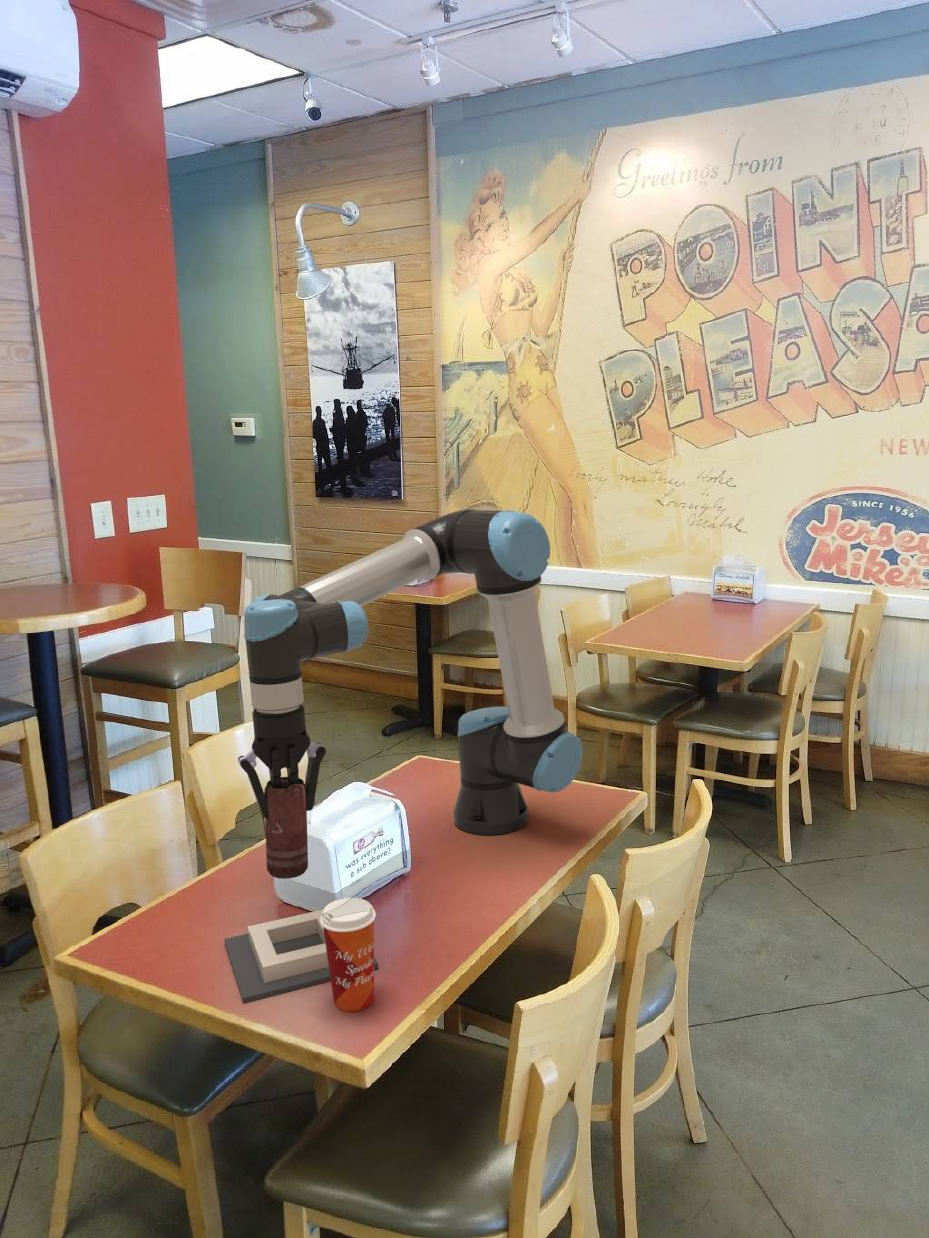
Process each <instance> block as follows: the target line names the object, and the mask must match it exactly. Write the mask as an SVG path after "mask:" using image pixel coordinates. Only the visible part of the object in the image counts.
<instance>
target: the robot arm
mask: <svg viewBox="0 0 929 1238" xmlns="http://www.w3.org/2000/svg"><path fill="white" fill-rule="evenodd" d="M550 557H551V545H550V539H549V535H548V533H547V531H546V529H545V527H544V525H543V524H542V523H541V522H540V521H539V520H538V519H537V518H535V516H533V515H531V514H529V513H526V512H519V511H515V510H509V509H508V510H507V509H506V510H488V509H487V510H486V509H485V510H483V509H480V510H479V509H478V510H476V509H462V510H461V509H460V510H457V511H453V512H450V513H447V514H443V515H442V516H439V517H437V518H434V519H431V520H429V521H427V522H425V523H423V524H420V525H418V526H416V527H414V528H412V529H409V530H408V531H406V532H405V533H404V535H403V537H402V539H401V540H399V541H397V542H395V543H393V544H390V545H388V546H386V547H384V548H382V549H379V550H377V551H375V552H373V553H371V554H369V555H367V556H364V557H362V558H360V559H357V560H355V561H353V562H350V563H349V564H347V565H343V567H340V568H338V569H336V570H333V571H332V572H331V571H330V572H329V573H327V574H325V575H322V576H320V577H319V578H315V579H313V580H312V581H310V582H307V583H305V584H303V585H300V586H298V587H295V588H294V589H290V590H289V591H286V592H285V593H284V592H283V593H282V594H280V595H277V594H273V593H272V594H264V595H260V596H258V597H256V598H254V600H252V601H251V603H249V604H248V605H247V606H246V608H245V609H244V620H243V622H244V623H243V625H244V634H243V636H244V637H243V638H244V640H245V647H246V648H245V649H246V658H247V668H248V675H249V688H250V700H251V706H252V708H253V711H252V723H253V734H254V738H253V742H252V744H251V750H250V751H248V753H246V754H245V755H240V756H238V757H237V761H238V765H239V766H240V767H241V769H242V770H243V771H244V772H245V773H246V774H247V777H248V780H249V783H250V785H251V789H252V792H253V795H254V796H255V799H256V803H257V806H258V807H259V811H260V812H261V814H262V817H263V818H264V820H265V819H269V813H268V803H267V800H266V797H265V794H264V788H263V786H262V783H261V780H260V777H259V775H258V773H257V771H256V769H255V768H256V767H257V761H256V760H257V759H256V758H258V759H259V760H260V761H261V762H262V763H263V764H264V766H266V768H268V772H269V780H270V784H271V785H272V787H273V788H282V785H281V777H282V771H281V770H283V769H285V768H286V774H287V776H286V777H288V782H289V784H290V786H291V785H293V784H299V778H300V777H299V773H300V770H299V764H300V762H301V761H302V759H303V758H304V756H305V755H306V752H307V755H308V756H309V757H308V761H307V767H306V773H305V781H304V784H305V786H306V810H307V812H311V811H313V809H314V807H315V798H316V792H317V786H318V781H319V774H320V767H321V762H322V761H323V759H324V758H325V755H326V753H327V749H326V748H325V747H324V745H323V744H322V743H321V742H317V743H316V742H314V741H312V740H311V738H310V736H309V734H308V732H307V725H306V724H307V723H306V722H307V721H306V714H305V713H306V711H305V706H304V705H303V702H304V700H305V698H304V691H303V690H304V689H303V688H304V687H303V675H302V674H303V673H302V672H303V671H302V662H303V661H304V662H305V661H308V660H312V659H317V658H322V657H326V656H329V655H331V656H332V655H335V654H336V655H337V654H340V653H346V652H348V651H351V650H353V649H357V648H360V647H362V645H364V644H365V643H366V641H367V639H368V636H369V620H368V616H367V614H366V612H365V610H364V608H362V607H364V606H367V605H368V604H370V603H372V602H374V601H376V600H378V599H380V598H382V597H385V596H386V595H389V594H391V593H393V592H395V591H397V590H399V589H401V588H402V587H404V586H407V585H409V584H410V583H413V582H416V581H417V580H420V579H422V580H428V581H429V580H432V579H434V578H436V577H438V576H441V575H445V574H466V575H473V576H474V579H475V584H476V590H477V592H478V594H479V595H480V596H482V597H484V598H485V599H487V603H488V608H489V614H490V618H491V624H492V629H493V635H494V641H495V646H496V651H497V658H498V662H499V667H500V673H501V679H502V685H503V688H504V689H503V690H504V694H505V699H506V705H507V706H490V707H484V708H483V707H482V708H477V709H475V710H470V711H468V712H466V713H463V714H462V716H460V717H459V719H458V726H457V727H458V728H457V729H458V732H457V742H458V743H457V744H458V757H459V771H460V772H459V774H460V788H459V791H458V794H457V798H456V802H455V805H454V809H453V822H454V825H455V827H457V828H458V829H459V830H461V831H464V832H467V833H469V834H474V835H484V836H485V835H486V836H487V835H489V836H490V835H491V836H492V835H494V836H495V835H501V834H502V835H503V834H509V833H512V832H514V831H517V830H520V829H521V828H523V827H524V826H526V825H527V823H528V821H529V809H528V808H529V807H528V804H527V802H526V799H525V797H524V794H523V792H522V789H521V787H520V786H521V785H523V786H527V787H529V788H533V789H535V790H536V791H539V792H541V791H544V792H548V793H558V792H561V791H563V790H564V789H566V788H567V787H568V786H569V785H571V784H572V782H573V781H574V780H575V778H576V777H577V775H578V772H579V770H580V767H581V765H582V761H583V753H584V751H583V748H584V747H583V744H582V741H581V739H580V738H579V736H576V734H574V733H573V732H569V731H568V730H567V725H566V721H565V716H564V714H563V713H562V711H560V710H558V709H557V708H556V707H555V704H554V696H553V692H552V691H553V690H552V686H551V680H550V679H551V678H550V674H549V669H548V662H547V661H548V660H547V656H546V651H545V646H544V645H545V643H544V639H543V632H542V627H541V626H542V625H541V620H540V614H539V608H538V604H537V597H536V592H535V591H536V589H537V588H538V587H539V586H540V584H541V583H542V575H543V574H544V573H545V571H546V569H547V567H548V565H549V562H548V561H547V560H549V559H550Z"/></svg>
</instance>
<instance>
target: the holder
mask: <svg viewBox="0 0 929 1238" xmlns="http://www.w3.org/2000/svg"><path fill="white" fill-rule="evenodd" d="M323 910H324V908H323V909H319V910H316V911H310V912H305V913H303V914H297V915H293V916H292V915H291V916H289V917H284V918H279V919H276V920H271V921H266V922H262V923H258V924H257V923H256V924H253V925H249V926H247V934H248V935H249V942H250V945H251V948H252V950H253V953H254V956H255V959H256V962H257V964H258V967H259V970H260V973H261V975H262V978H263V981H264V983H266V982H270V981H274V980H278V979H282V978H286V977H290V976H295V975H299V974H303V973H307V972H311V971H315V970H319V969H323V968H327V967H329V966H328V959H327V951H326V944H325V936H324V929H323V926H322V925H321V923H320V918H321V916H322V914H323ZM317 933H318V934H319V936H320V938H321V940H322V942H323V943H324V944H320V945H316V946H312V947H308V948H304V949H299V950H295V951H291V952H287V953H283V954H278V955H276V952H275V950H274V947H273V945H272V944H274V943H278V942H283V941H287V940H291V939H295V938H300V937H304V936H308V935H312V934H317Z"/></svg>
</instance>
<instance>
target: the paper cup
mask: <svg viewBox="0 0 929 1238" xmlns="http://www.w3.org/2000/svg"><path fill="white" fill-rule="evenodd" d="M323 909H324V910H323ZM323 909H322V910H323V914H322V916H321V918H320V923H321V925H322V926H323V929H324V936H325V944H326V951H327V959H328V966H329V972H330V978H331V981H330V985H331V991H332V997H333V1001H334V1005H335V1007H336V1008H337V1009H338V1010H340V1011H344V1012H349V1013H351V1012H352V1013H353V1012H359V1011H363V1010H366V1009H367V1008H369V1007H370V1006H371V1005H372V1003H373V1002H374V997H375V970H374V958H375V946H374V945H375V944H374V943H375V940H374V938H375V934H374V930H375V928H374V927H375V926H374V921H375V920H376V917H377V916H376V915H377V914H376V910H375V909H374V907H373V905H372V903H370V902H369V901H367V900H366V899H363V898H359V897H344V898H339V899H336V900H333V901H330V902H329V903H328V904H327V905H326V906H325V907H324V908H323Z"/></svg>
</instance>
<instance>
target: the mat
mask: <svg viewBox="0 0 929 1238" xmlns="http://www.w3.org/2000/svg"><path fill="white" fill-rule="evenodd" d="M223 940H224V946H225V950H226V952H227V956H228V959H229V962H230V965H231V969H232V972H233V975H234V978H235V980H236V984H237V988H238V990H239V994H240V997H241V1000H242V1002H243V1003H242V1004H246V1003H249V1002H254V1001H258V1000H261V999H265V998H269V997H273V996H278V995H282V994H285V993H289V992H293V991H296V990H300V989H305V988H308V987H309V988H310V987H312V986H316V985H320V984H324V983H328V982H331V978H330V972H329V967H327V968H323V969H319V970H315V971H311V972H307V973H303V974H299V975H295V976H290V977H286V978H282V979H278V980H274V981H270V982H266V983H264V981H263V978H262V975H261V973H260V970H259V967H258V964H257V962H256V959H255V956H254V953H253V950H252V948H251V945H250V942H249V935H248V933H244V934H241V935H236V936H232V937H231V936H230V937H228V938H224V939H223ZM320 944H324V943H323V942H322V940H321V938H320V936H319V934H318V933H317V934H312V935H308V936H304V937H300V938H295V939H291V940H287V941H283V942H278V943H274V944H272V945H273V947H274V950H275V952H276V955H278V954H283V953H287V952H291V951H295V950H299V949H304V948H308V947H312V946H316V945H320ZM375 970H379V963H378V961H377V959H375V957H374V971H375Z"/></svg>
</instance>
